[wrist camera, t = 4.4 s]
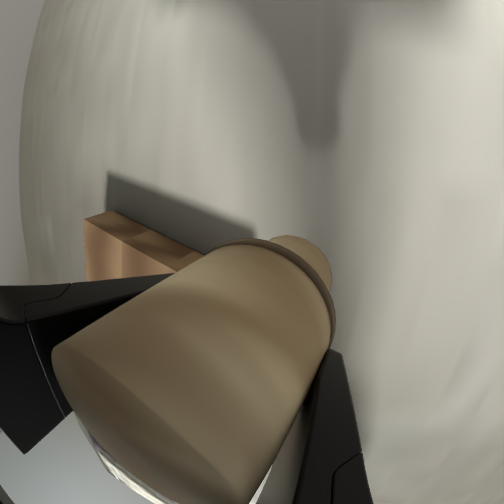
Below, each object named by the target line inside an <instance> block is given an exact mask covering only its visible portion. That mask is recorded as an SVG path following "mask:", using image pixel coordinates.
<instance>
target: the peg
mask: <svg viewBox="0 0 504 504" xmlns="http://www.w3.org/2000/svg"><path fill="white" fill-rule="evenodd" d="M331 284H332V274H331V269H330V266H329V263H328V261H327V259H326V257H325V256H324V254H323V253H322V252H321V251H320V250H319V249H318V248H317V247H316V246H315V245H314V244H312V243H311V242H309V241H307V240H305V239H303V238H300V237H296V236H289V235H286V236H279V237H275V238H272V239H271V240H269V241H266V240H261V239H253V238H244V239H236V240H232V241H228V242H226V243H223V244H221V245H219V246H217V247H216V248H214V249H212V250H211V251H209V252H207V253H206V254H205V255H204V256H203V257H201V258H200V259H198V260H197V261H195V262H193V263H192V264H190V265H188V266H187V267H185V268H183V269H181V270H180V271H178V272H176V273H175V274H173V275H171V276H170V277H168V278H166V279H165V280H163V281H161V282H160V283H158V284H156V285H154V286H153V287H151V288H149V289H148V290H146V291H144V292H143V293H141V294H139V295H138V296H136V297H134V298H133V299H131V300H129V301H128V302H126V303H125V304H123V305H121V306H120V307H118V308H116V309H115V310H113V311H111V312H110V313H108V314H106V315H105V316H103V317H102V318H100V319H98V320H97V321H95V322H93V323H92V324H90V325H89V326H87V327H85V328H84V329H82V330H80V331H79V332H77V333H76V334H74V335H72V336H71V337H69V338H68V339H66V340H64V341H63V342H61V343H60V344H58V345H57V346H55V347H54V348H53V350H52V355H51V358H52V365H53V369H54V373H55V376H56V378H57V381H58V383H59V385H60V387H61V389H62V391H63V393H64V395H65V397H66V399H67V401H68V402H69V404H70V406H71V407H72V409H73V410H74V412H75V413H76V415H77V416H78V418H79V419H80V420H81V422H82V423H83V424H84V426H85V427H86V428H87V429H88V431H89V432H90V433H91V434H92V435H93V437H94V438H95V439H96V440H97V441H98V442H99V443H100V444H101V445H102V446H103V448H104V449H105V450H106V451H107V452H108V453H109V454H110V455H111V456H112V457H114V458H115V459H116V460H117V461H118V462H119V463H120V464H121V465H122V466H124V467H125V468H126V469H127V470H128V471H130V472H131V473H132V474H133V475H135V476H136V477H137V478H138V479H140V480H141V481H143V482H144V483H145V484H147V485H148V486H150V487H151V488H153V489H154V490H156V491H157V492H159V493H161V494H162V495H164V496H166V497H168V498H169V499H171V500H173V501H175V502H177V503H179V504H249V502H250V501H251V499H252V498H253V496H254V494H255V493H256V491H257V489H258V488H259V486H260V484H261V483H262V481H263V479H264V478H265V476H266V474H267V472H268V471H269V469H270V467H271V465H272V464H273V462H274V460H275V458H276V456H277V454H278V453H279V451H280V449H281V447H282V445H283V443H284V441H285V439H286V437H287V436H288V434H289V432H290V430H291V428H292V426H293V424H294V422H295V420H296V418H297V416H298V414H299V412H300V409H301V407H302V405H303V403H304V401H305V399H306V397H307V395H308V392H309V390H310V388H311V386H312V384H313V381H314V379H315V377H316V374H317V372H318V370H319V368H320V365H321V363H322V360H323V358H324V356H325V353H326V351H327V350H328V349H329V348H330V346H331V343H332V341H333V337H334V333H335V326H336V316H335V309H334V305H333V301H332V298H331V296H330V293H329V292H330V289H331Z"/></svg>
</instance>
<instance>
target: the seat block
mask: <svg viewBox="0 0 504 504" xmlns="http://www.w3.org/2000/svg"><path fill="white" fill-rule="evenodd" d="M84 243H85V263H86V277H87V281H98V280H108V279H118V278H128V277H138V276H148V275H158V274H167V273H176V272H178V271H180V270H181V269H183V268H185V267H187V266H188V265H190V264H192V263H193V262H195V261H197V260H198V259H200V258H201V257H203V256H204V255H202V254H200V253H198V252H196V251H194V250H192V249H190V248H188V247H186V246H184V245H181V244H179V243H177V242H175V241H173V240H171V239H169V238H167V237H165V236H163V235H161V234H159V233H157V232H155V231H153V230H150V229H148V228H146V227H144V226H142V225H140V224H138V223H136V222H134V221H132V220H130V219H128V218H126V217H124V216H122V215H120V214H118V213H116V212H114V211H108V212H105V213H102V214H98V215H95V216H92V217H89V218H86V219H84Z"/></svg>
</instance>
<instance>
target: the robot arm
mask: <svg viewBox="0 0 504 504" xmlns="http://www.w3.org/2000/svg"><path fill="white" fill-rule="evenodd" d="M173 274H175V273H167V274H158V275H148V276H138V277H128V278H118V279H108V280H98V281H87V282H77V283H72V284H71V283H65V284H53V285H28V286H0V434H1V433H2V432H4V433H5V434H6V435H7V436H8V437H9V439H10V440H11V441H12V442H13V443H14V444H15V445H16V447H17V448H18V449H19V450H20V451H21V452H22V453H23V454H25V453H27V452H28V451H30V450H31V449H32V448H33V447H34V446H35V445H36V444H37V443H38V442H39V441H41V439H43V438H44V437H45V436H46V435H47V434H48V433H49V432H50V431H51V430H52V429H54V428H55V427H56V426H57V425H58V424H59V423H60V422H61V421H62V420H64V419H65V417H67V416H68V415H69V414H70V413H71V412H72V411H73V409H72V407H71V406H70V404H69V402H68V401H67V399H66V397H65V395H64V393H63V391H62V389H61V387H60V385H59V383H58V381H57V378H56V376H55V373H54V369H53V365H52V358H51V355H52V350H53V348H54V347H55V346H57V345H58V344H60V343H61V342H63V341H64V340H66V339H68V338H69V337H71V336H72V335H74V334H76V333H77V332H79V331H80V330H82V329H84V328H85V327H87V326H89V325H90V324H92V323H93V322H95V321H97V320H98V319H100V318H102V317H103V316H105V315H106V314H108V313H110V312H111V311H113V310H115V309H116V308H118V307H120V306H121V305H123V304H125V303H126V302H128V301H129V300H131V299H133V298H134V297H136V296H138V295H139V294H141V293H143V292H144V291H146V290H148V289H149V288H151V287H153V286H154V285H156V284H158V283H160V282H161V281H163V280H165V279H166V278H168V277H170V276H171V275H173ZM361 452H362V448H361V442H360V437H359V432H358V426H357V421H356V416H355V411H354V406H353V402H352V397H351V392H350V388H349V383H348V379H347V374H346V370H345V366H344V361H343V357H342V354H341V353H339V352H336V351H334V350H332V349H328V350H327V351H326V353H325V356H324V358H323V360H322V363H321V365H320V368H319V370H318V372H317V374H316V377H315V379H314V381H313V384H312V386H311V388H310V390H309V392H308V395H307V397H306V399H305V401H304V403H303V405H302V407H301V409H300V412H299V414H298V416H297V418H296V420H295V422H294V424H293V426H292V428H291V430H290V432H289V434H288V436H287V437H286V439H285V441H284V443H283V445H282V447H281V449H280V451H279V453H278V455H277V457H276V460H275V462H274V465H273V467H272V469H271V472H270V474H269V476H268V478H267V481H266V483H265V485H264V487H263V490H262V492H261V494H260V496H259V498H258V500H257V502H256V504H373V500H372V496H371V492H370V489H369V485H368V480H367V475H366V470H365V465H364V459H363V454H362V453H361ZM0 504H14V503H13V501H12V500H11V499H10V498H9V496H8V495H7V494H6V492H5V491H4V490H3V488H2V487H1V485H0Z"/></svg>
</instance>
